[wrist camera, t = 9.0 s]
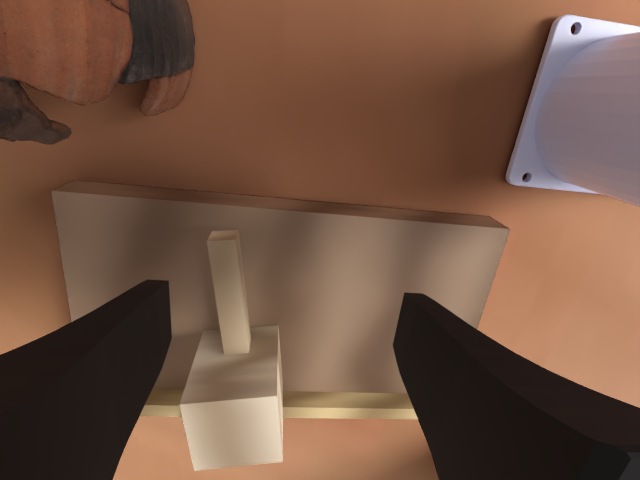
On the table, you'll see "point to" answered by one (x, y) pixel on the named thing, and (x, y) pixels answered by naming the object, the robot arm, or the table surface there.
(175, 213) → the walnut board
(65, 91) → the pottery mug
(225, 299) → the wooden mallet
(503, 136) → the table surface
